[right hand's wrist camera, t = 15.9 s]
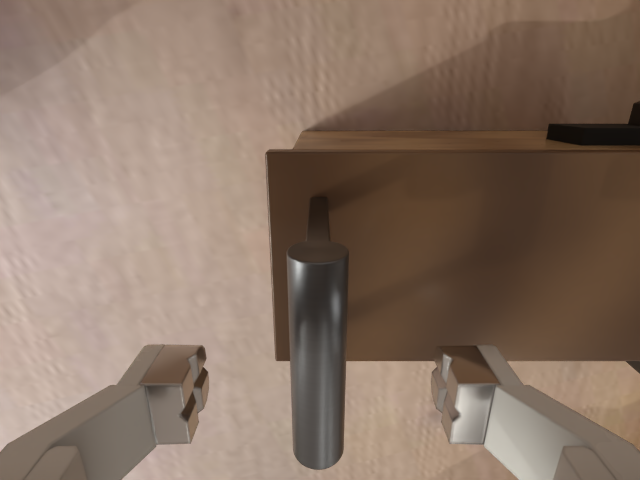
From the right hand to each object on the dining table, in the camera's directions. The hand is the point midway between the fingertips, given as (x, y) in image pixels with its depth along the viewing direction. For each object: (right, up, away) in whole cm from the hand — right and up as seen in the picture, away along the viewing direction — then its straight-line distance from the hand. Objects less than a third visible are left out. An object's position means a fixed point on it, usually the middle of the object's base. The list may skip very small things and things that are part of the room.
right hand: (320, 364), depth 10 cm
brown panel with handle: (+7, +3, +7) cm, 10 cm away
